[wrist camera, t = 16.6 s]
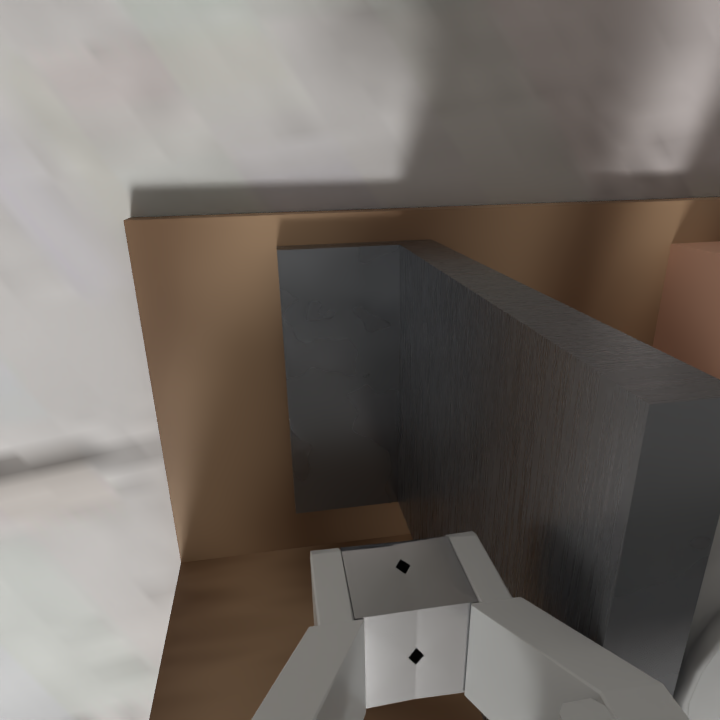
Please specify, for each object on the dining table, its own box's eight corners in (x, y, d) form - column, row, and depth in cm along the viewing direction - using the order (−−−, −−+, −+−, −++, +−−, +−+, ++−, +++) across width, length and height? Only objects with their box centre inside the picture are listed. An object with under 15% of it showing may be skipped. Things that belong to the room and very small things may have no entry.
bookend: (431, 239, 17) (750, 395, 6) (424, 485, 20) (623, 888, 9) (276, 245, 16) (303, 438, 5) (294, 500, 19) (336, 958, 8)
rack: (897, 190, 20) (1529, 223, 10) (801, 494, 25) (1167, 723, 15) (130, 217, 16) (-91, 316, 6) (188, 573, 21) (118, 961, 11)
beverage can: (568, 302, 18) (1026, 520, 7) (552, 428, 20) (906, 760, 9) (431, 311, 18) (711, 567, 7) (427, 441, 19) (645, 817, 8)
